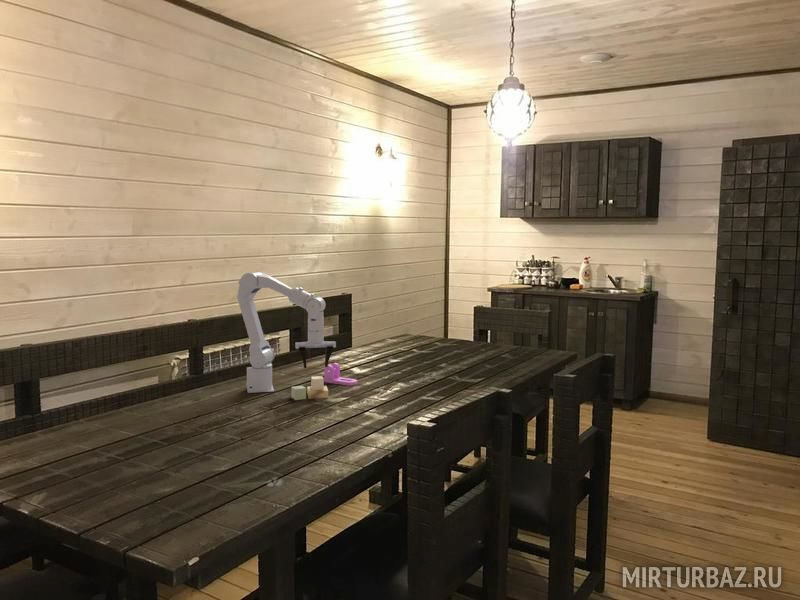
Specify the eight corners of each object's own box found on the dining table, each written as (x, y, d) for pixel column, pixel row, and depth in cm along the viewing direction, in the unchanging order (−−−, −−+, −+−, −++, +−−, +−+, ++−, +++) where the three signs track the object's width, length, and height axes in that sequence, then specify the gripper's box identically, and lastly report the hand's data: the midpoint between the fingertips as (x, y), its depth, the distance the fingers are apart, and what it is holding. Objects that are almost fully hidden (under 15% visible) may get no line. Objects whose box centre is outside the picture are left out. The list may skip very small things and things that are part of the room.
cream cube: (312, 390, 228) (312, 379, 228) (311, 387, 232) (311, 376, 232) (323, 389, 229) (323, 378, 229) (322, 386, 233) (322, 376, 233)
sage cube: (295, 400, 224) (295, 389, 224) (291, 397, 228) (291, 386, 227) (306, 399, 226) (306, 388, 226) (302, 396, 230) (301, 385, 229)
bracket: (324, 382, 251) (324, 365, 250) (332, 379, 256) (332, 362, 255) (352, 386, 245) (352, 368, 244) (359, 383, 250) (359, 366, 249)
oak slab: (308, 399, 227) (308, 391, 226) (307, 394, 233) (307, 386, 233) (328, 398, 228) (328, 390, 228) (326, 393, 235) (326, 385, 235)
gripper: (296, 332, 225) (296, 370, 227) (337, 331, 229) (337, 368, 230) (294, 329, 232) (294, 366, 234) (334, 328, 236) (334, 364, 237)
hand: (315, 367), depth 232 cm, fingers open, 7 cm apart
